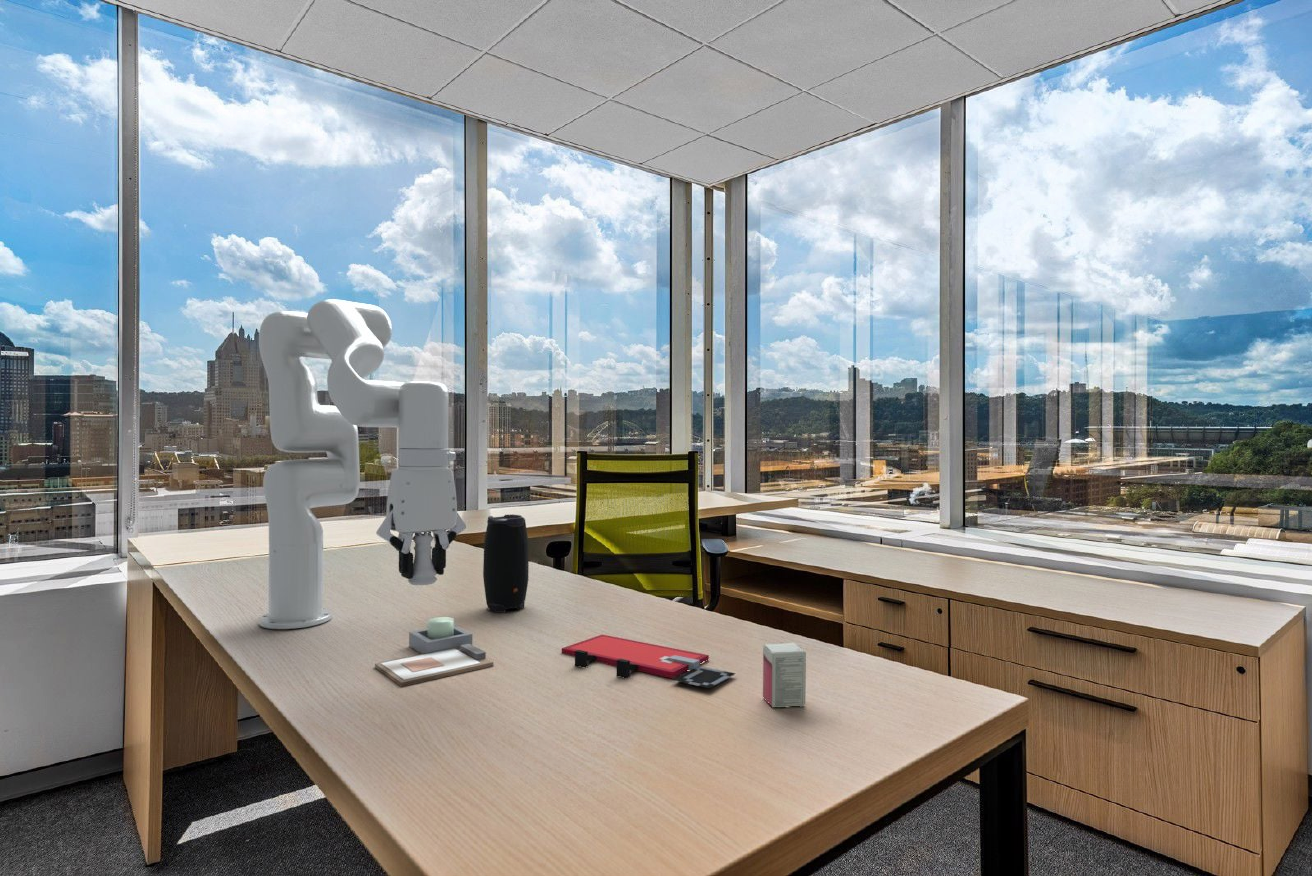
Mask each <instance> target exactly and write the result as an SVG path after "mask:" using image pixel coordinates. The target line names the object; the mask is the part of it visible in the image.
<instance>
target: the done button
mask: <svg viewBox="0 0 1312 876" xmlns="http://www.w3.org/2000/svg"><path fill="white" fill-rule="evenodd" d="M454 625H455V619H454V618H453V617H448V616H438V617H433V618H430V619H428V620H427V626H426V627H427V628H426V629H427V638H428V639H430V640H434V639H440V638H445V637H450V636H454Z"/></svg>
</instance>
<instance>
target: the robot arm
mask: <svg viewBox="0 0 1312 876" xmlns="http://www.w3.org/2000/svg"><path fill="white" fill-rule="evenodd" d="M392 332H393V325H392V322H391V319H390V317H389V315H388V314H387V313H386V312H385V311H384V309H382V308H381V307H379V306H377V305H374V304H370V303H369V304H367V303H363V302H362V303H361V302H354V301H350V300H343V299H336V298H335V299H324V300H319V301H318V302H316V303H314V304H313V305H312V306H311V307H310V308H309V310H308V312H301V311H291V310H290V311H289V310H283V311H274V312H272V313H270V314H268V315H267V316H266V317H264V318H263V320H262V323H261V325H260V328H259V331H258V348H259V354H260V358H261V361H262V364H263V367H264V370H265V373H266V374H265V375H266V377H267V382H268V400H269V401H268V403H269V404H268V405H269V425H270V426H269V429H270V430H269V431H270V438H271V441H272V445H273V446H274V448H276V449H277V450H278V451H281V452H285V453H325V454H326V456H327V458H319V459H318V458H308V459H305V458H304V459H302V458H301V459H300V458H299V459H297V458H296V459H287V460H286V459H285V460H281V461H277V462H275V463H272V464H271V465H270V466H268V468H267V469H266V471H265V472H264V475H263V480H262V484H263V485H262V486H263V493H264V499H265V502H266V503H265V504H266V511H267V516H268V517H267V519H268V613H266V614H264V615H262V616H260V618H259V620H258V622H259V626H260V627H261V628H265V629H270V630H293V629H301V628H308V627H314V626H318V625H321V624H323V623H326V622H328V621H330V620H331V619H332V611H331V610H329V609H327V608H324V605H323V604H324V530H323V527H322V524H321V522H320V521H319V520H318V518H317V517H316V515H314V513H313V512H312V510H311V509H313V508H320V507H321V508H322V507H331V506H332V507H333V506H343V505H347V504H350V503H352V502H353V501H355V499H356V498H357V497H358V494H359V491H360V486H361V485H360V483H361V473H360V470H361V469H360V468H361V467H360V445H359V429H358V427H361V428H395V429H396V428H398V429H397V430H398V432H397V433H398V434H397V435H398V436H397V438H398V440H397V441H398V442H397V443H398V444H397V445H398V448H397V449H398V450H397V451H398V452H397V453H398V456H397V468H392V469H391V470H392V471H391V474H390V479H389V485H388V492H387V500H386V501H387V502H386V514H385V518H384V520H383V522H382V523H381V524H380V526H379V527H378V528H377V530H376V536H378V537H379V538H381V539H383V540H384V541H386V542H388V543H389V544H390V545H391V546H392V548H394V549H395V550H396V551H397V552H398V572H399V573H400V575H401V577H402V578H405V579H407V580H408V579H412V578H413V563H414V553H412V552H411V547H412V543H413V539H412V538H413V537H414V535H415V533H422V534H423V533H424V532H427V533H428V532H431V533H432V536H433V538H434V539H433V542H434V546H433V547H432V549H431V560H432V565H433V566H434V569H435V570H436V572H437V574H436V575H439V576H441V575H442V576H443V575H444V572H445V568H446V567H447V550H448V548H450V544H451V543H452V542H453V541H454V540H455V539H456V538H457V536H458V535H460V534H461V533H462V532H463V531H464V530H466V529H467V525H466V523H465V521H464V520H463V519H462V517H461V516H460V515H459V513H458V506H457V505H458V504H457V493H456V492H457V491H456V485H455V478H454V477H455V476H454V474H453V470H452V469H453V468H450V467H449V466H450V462H451V461H456V459H457V454H456V452H455V451H454V452H451V451H450V448H449V418H450V417H449V416H450V415H449V407H450V406H449V405H450V404H449V403H450V402H449V401H450V400H449V399H450V398H449V396H450V395H449V394H450V392H449V389H448V387H447V386H446V385H445V384H444V383H441V382H439V381H438V382H437V381H422V380H421V381H420V380H417V381H403V382H402V381H394V380H393V381H392V380H379V379H378V380H377V379H364V378H367V377H369V376H371V375H372V374H374V373H375V372H376V371H377V370H378V369H379V368H380V366H381V365H382V363H383V361H384V357H385V349H384V348H385V347H386V346H387V345H388V344H389V342H390V340H391V337H392ZM301 357H303V358H313V359H324V360H331V363H330V365H329V367H328V370H327V379H326V382H327V384H326V385H327V391H328V395H329V397H330V400H331V402H332V404H333V405H332V404H330V405H328V404H320V403H319V400H318V384H317V383H318V382H317V379H316V377H315V376H314V374H313V372H312V371H311V369H310V368H309V367H308V366H307V364H306V363H305V362H304V361H303V360H302V359H301ZM392 531H395V532H397V533H398V535H397V536H396V535H395V534H393V533H391V532H392Z"/></svg>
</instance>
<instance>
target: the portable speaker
mask: <svg viewBox="0 0 1312 876" xmlns="http://www.w3.org/2000/svg"><path fill="white" fill-rule="evenodd" d="M486 523H487V526H486V530H485V535H484V541H483V569H482V572H483V573H482V575H483V576H482V578H483V587H484V594H485V595H484V596H485V600H486V601H485V602H486V606H487V608H488V611H489V612H492V613H506V610H507V609H514V608H516V609H517V610H518V611H521V610H524V609H525V601H526V599H527V598H526V596H527V591H528V585H529V551H530V549H529V548H530V547H529V545H530V544H529V537H528V529H527V525H526V523H527V522H526V518H525V517H523V516H522V515H520V514H504V515H503V516H493V515H490V516H488V517H487V522H486Z"/></svg>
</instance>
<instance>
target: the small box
mask: <svg viewBox="0 0 1312 876" xmlns="http://www.w3.org/2000/svg"><path fill="white" fill-rule="evenodd" d="M762 645H763V647H762V651H763V654H762V655H763V657H762V658H763V659H762V661H763V662H762V698H763V697H764V698H765V699H766V701H767V702H769V704H770V705H771V706H772V707H786V706H800V707H805V706H806V683H807V682H806V681H807V679H806V678H807V675H806V674H807V652H806V650H804V649H803V648H802V647H801V646H800V645H799V644H797V643H796V642H787V643H769V644H766V643H765V644H762ZM764 698H763V699H764ZM765 699H764V700H765ZM766 701H765V702H766ZM767 702H766V703H767ZM769 704H768V705H769ZM770 705H769V706H770ZM804 705H805V706H804ZM771 706H770V707H771ZM786 708H787V707H786Z"/></svg>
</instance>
